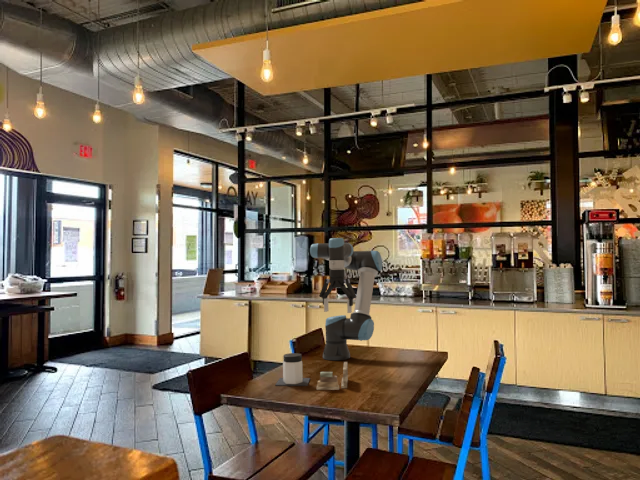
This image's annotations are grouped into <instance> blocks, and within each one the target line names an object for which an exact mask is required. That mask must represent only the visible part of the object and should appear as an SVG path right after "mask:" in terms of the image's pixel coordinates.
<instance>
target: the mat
mask: <svg viewBox="0 0 640 480" xmlns="http://www.w3.org/2000/svg"><path fill="white" fill-rule="evenodd" d="M310 381H311V378H310V377H303V382H302V383H298V384H285V383H284V382H283V377H279V378H278V380H277V382H276V383H275V387H308V386H309V382H310Z"/></svg>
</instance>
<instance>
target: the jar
mask: <svg viewBox="0 0 640 480" xmlns="http://www.w3.org/2000/svg"><path fill="white" fill-rule="evenodd" d="M302 360H303V356H302V353H297V352H296V353H294V352H292V353H291V352H290V353H285V354H283V360H282V378H283V382H284V383H285V384H298V383H302V382H303V378H304V376H303V374H304V373H303V361H302Z"/></svg>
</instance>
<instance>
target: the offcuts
mask: <svg viewBox="0 0 640 480" xmlns="http://www.w3.org/2000/svg"><path fill="white" fill-rule="evenodd" d="M319 373H320V374H319V380H317V385H318V387H338V385H339V380H338V375H333V371H320V372H319Z"/></svg>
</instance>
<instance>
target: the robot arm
mask: <svg viewBox="0 0 640 480" xmlns="http://www.w3.org/2000/svg"><path fill="white" fill-rule="evenodd" d="M309 253H310V256H311V257H312V258H315V259H323V260H326V261H329V262H328V263H329V264H328V265H329V278H324V281H323V285H322V288H321V291H320V293H319V295H318V296H319V298H322V305H323V308H324V309H323V312H325V313H327V312H329V298H328V296H329V295H330V294H331V292H332V291H333V289H341V290H342V292H343V293H344V295H345V296H346V297H347V298H348V299H346V301H347V302H346V303H347V305H346V307H347V310H346V311H347V314H350V317H347V316H346V315H345V314H343V315H334V316H329V317H327V318H326V319H325V325H324V328H325V329H324V330H325V346H324V349H323V353H322V359H323V360H328V361H344V360H345V361H346V360H349V359H350V358H351V353H350V350H349V347H348V344H347V342H348V341H347V340H351V341H361V342H362V341H369V340H370V339H371V338H372V336H373V334H374V332H375V331H374V329H375V322H374V319H372V316H371V315H370V311H371V306H372V305H371V304H372V298H373V293H374V292H373V289H374V282H375V277H376V276H377V275H379V272H380V271H382V270H383V259H382V255H381V252H379V250H373V249H371V250H355V249H354V247H353V245H352V244H351V243H349V242H345V240H344V238H343V237H332V238H329V240H328V243H322V242H321V243H312V244H311V245H310V248H309ZM345 269H346V270H351V271H357V272H358V274H359V280H358V285H357V291H356V292H355V290H354V288H353V285H352V283H351V282H352V281H351V279H350V278H345V273H346V272H345ZM354 300H355V303H354ZM353 305H354V310H353ZM352 310H353V312H352Z"/></svg>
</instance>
